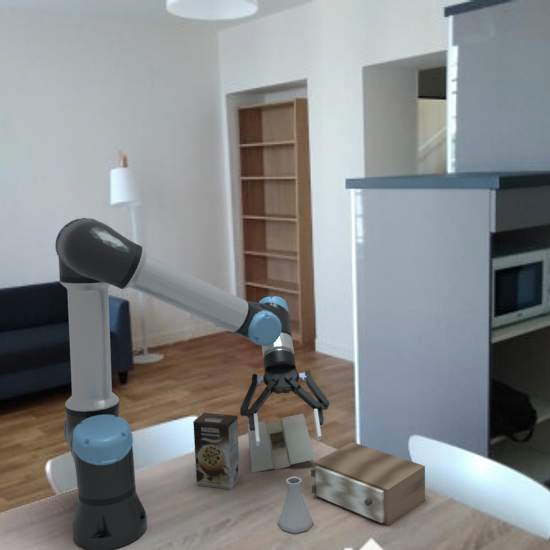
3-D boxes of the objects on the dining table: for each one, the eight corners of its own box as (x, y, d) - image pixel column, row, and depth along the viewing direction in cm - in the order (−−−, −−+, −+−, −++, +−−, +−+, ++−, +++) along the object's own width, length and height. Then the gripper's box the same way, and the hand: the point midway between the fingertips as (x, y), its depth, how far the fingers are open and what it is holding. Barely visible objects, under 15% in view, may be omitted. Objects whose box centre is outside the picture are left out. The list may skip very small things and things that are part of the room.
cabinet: (309, 498, 147) (308, 464, 146) (353, 473, 158) (352, 442, 157) (383, 529, 133) (382, 493, 132) (425, 499, 144) (424, 465, 143)
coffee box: (195, 485, 155) (191, 421, 152) (206, 473, 161) (203, 411, 158) (231, 490, 152) (227, 424, 149) (241, 477, 158) (238, 414, 156)
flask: (296, 511, 141) (295, 468, 140) (320, 524, 136) (318, 480, 134) (271, 524, 137) (269, 479, 135) (294, 538, 131) (292, 492, 130)
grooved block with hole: (319, 472, 168) (307, 420, 177) (316, 459, 161) (305, 405, 170) (256, 486, 168) (248, 432, 177) (251, 472, 161) (243, 418, 170)
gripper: (328, 360, 160) (342, 442, 147) (226, 367, 158) (232, 452, 145) (331, 344, 154) (346, 429, 141) (226, 352, 151) (231, 439, 139)
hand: (288, 441), depth 143 cm, fingers open, 13 cm apart
